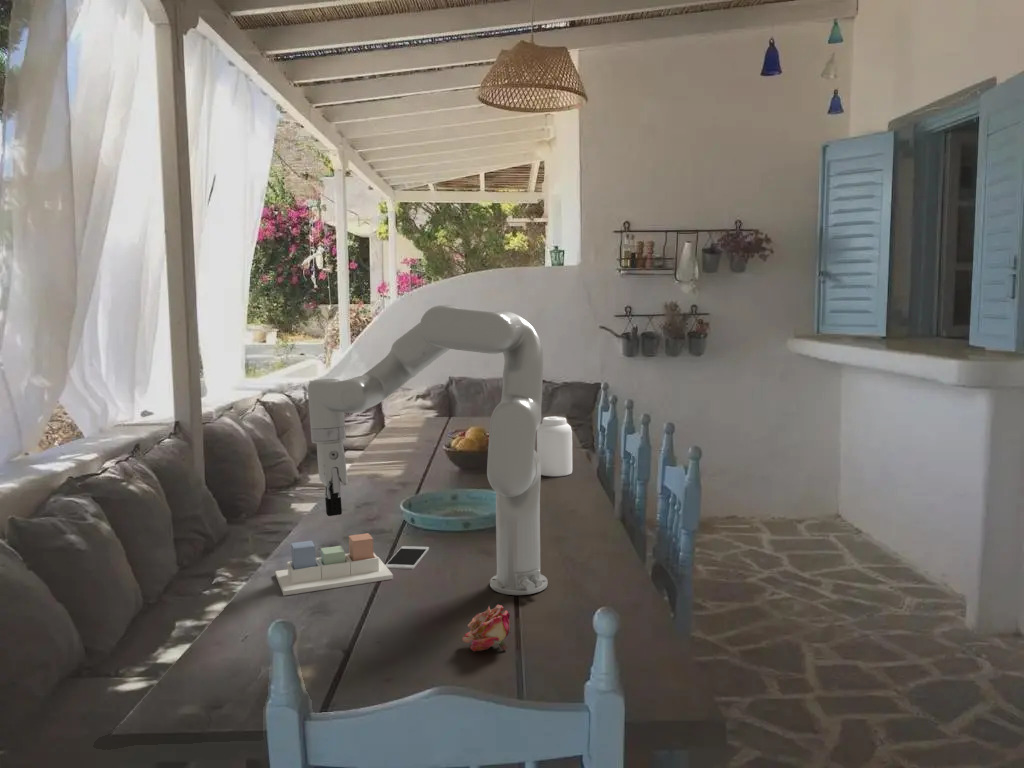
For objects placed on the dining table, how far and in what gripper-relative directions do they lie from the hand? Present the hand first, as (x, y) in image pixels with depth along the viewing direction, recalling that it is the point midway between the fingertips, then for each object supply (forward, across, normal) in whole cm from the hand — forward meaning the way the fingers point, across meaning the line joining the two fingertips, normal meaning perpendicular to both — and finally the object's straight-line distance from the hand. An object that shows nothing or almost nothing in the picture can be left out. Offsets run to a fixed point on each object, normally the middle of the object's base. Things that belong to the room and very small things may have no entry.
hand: (334, 514), depth 183 cm
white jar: (+16, +75, -91) cm, 119 cm away
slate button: (+11, +1, +7) cm, 13 cm away
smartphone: (+16, +7, -18) cm, 25 cm away
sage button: (+13, +1, +1) cm, 13 cm away
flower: (+16, -49, -17) cm, 55 cm away
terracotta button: (+11, +1, -6) cm, 13 cm away
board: (+15, +1, +1) cm, 15 cm away
